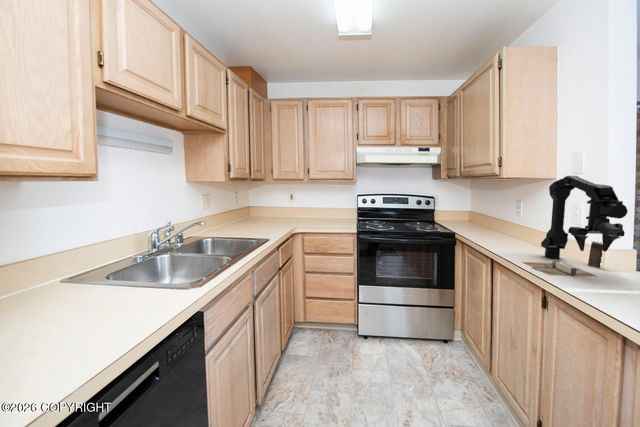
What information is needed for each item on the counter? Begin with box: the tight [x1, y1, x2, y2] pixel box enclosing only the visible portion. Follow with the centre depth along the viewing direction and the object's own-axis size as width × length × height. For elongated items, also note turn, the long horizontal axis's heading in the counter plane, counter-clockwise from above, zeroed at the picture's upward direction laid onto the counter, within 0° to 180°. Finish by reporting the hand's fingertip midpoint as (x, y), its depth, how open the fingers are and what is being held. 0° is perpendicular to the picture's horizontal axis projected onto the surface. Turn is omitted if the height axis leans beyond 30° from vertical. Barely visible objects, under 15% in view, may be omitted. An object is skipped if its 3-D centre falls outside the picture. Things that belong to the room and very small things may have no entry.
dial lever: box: [551, 259, 577, 275], centre depth 135 cm, size 13×3×3 cm, turn 176°
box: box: [587, 241, 604, 269], centre depth 145 cm, size 6×4×12 cm
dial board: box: [521, 261, 599, 278], centre depth 139 cm, size 20×21×1 cm
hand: (593, 251), depth 132 cm, fingers open, 9 cm apart
